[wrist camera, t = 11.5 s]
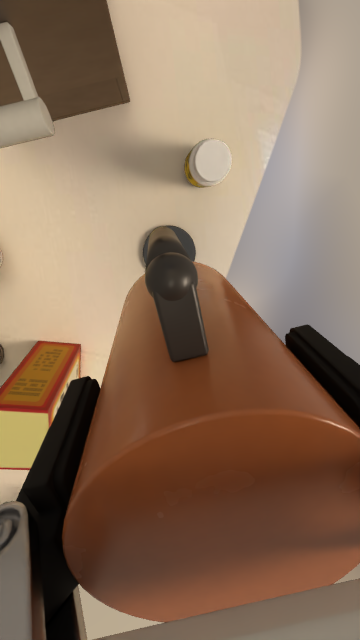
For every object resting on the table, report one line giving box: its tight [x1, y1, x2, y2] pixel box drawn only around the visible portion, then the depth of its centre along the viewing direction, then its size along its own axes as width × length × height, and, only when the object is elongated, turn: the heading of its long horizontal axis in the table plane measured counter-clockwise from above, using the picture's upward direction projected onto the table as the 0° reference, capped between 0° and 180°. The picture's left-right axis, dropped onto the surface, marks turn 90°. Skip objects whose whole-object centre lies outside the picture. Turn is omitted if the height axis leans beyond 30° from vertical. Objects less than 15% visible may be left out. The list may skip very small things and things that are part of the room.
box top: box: [0, 0, 124, 148], centre depth 20 cm, size 15×15×6 cm
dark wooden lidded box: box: [40, 76, 130, 121], centre depth 27 cm, size 15×15×9 cm
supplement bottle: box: [184, 139, 232, 188], centre depth 34 cm, size 5×5×8 cm
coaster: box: [143, 226, 196, 264], centre depth 41 cm, size 8×8×1 cm
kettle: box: [62, 227, 360, 623], centre depth 11 cm, size 11×6×11 cm, turn 12°
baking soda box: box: [0, 341, 81, 470], centre depth 40 cm, size 10×6×16 cm
